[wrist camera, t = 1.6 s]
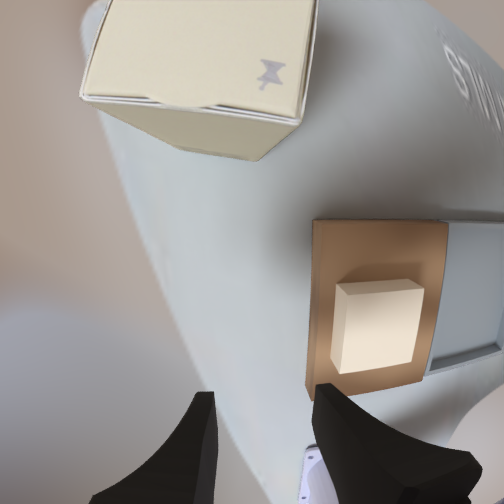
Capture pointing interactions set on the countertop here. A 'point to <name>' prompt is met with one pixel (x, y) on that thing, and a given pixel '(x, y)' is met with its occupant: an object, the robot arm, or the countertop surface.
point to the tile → (375, 324)
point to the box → (205, 71)
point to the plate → (365, 270)
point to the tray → (470, 297)
